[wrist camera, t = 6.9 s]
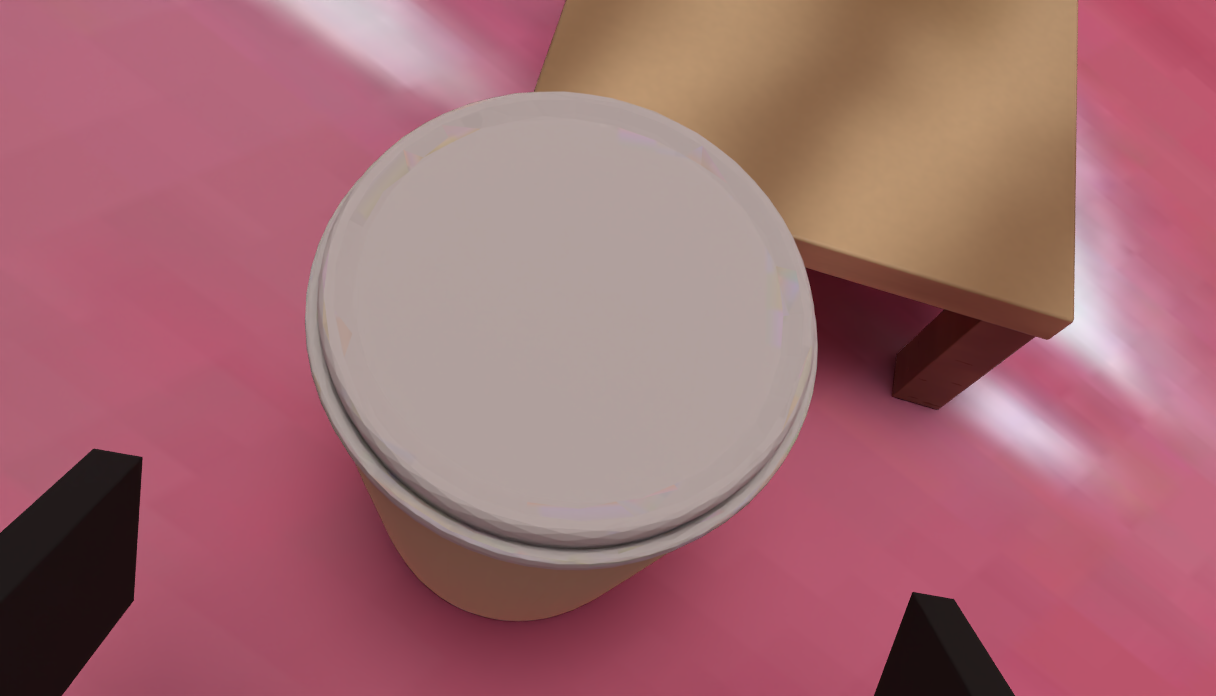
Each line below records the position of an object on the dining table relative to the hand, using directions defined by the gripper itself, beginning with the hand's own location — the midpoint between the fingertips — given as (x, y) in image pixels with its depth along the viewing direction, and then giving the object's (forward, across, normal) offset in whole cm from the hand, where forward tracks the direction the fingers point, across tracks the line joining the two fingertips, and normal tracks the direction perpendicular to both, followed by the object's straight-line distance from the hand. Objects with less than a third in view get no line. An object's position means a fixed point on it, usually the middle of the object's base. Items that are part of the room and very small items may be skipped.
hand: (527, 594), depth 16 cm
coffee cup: (+11, 0, -4) cm, 12 cm away
